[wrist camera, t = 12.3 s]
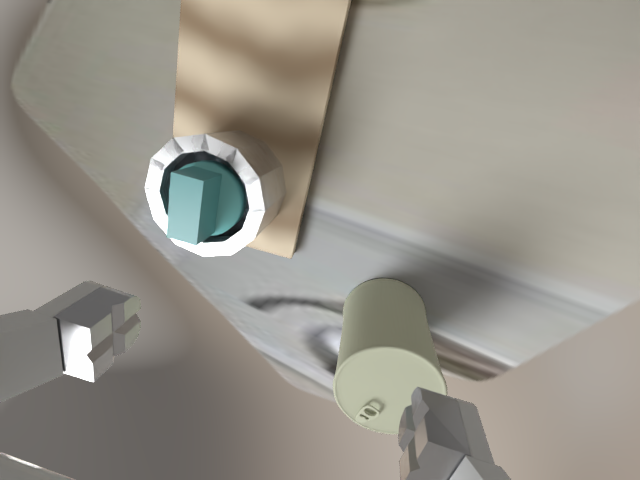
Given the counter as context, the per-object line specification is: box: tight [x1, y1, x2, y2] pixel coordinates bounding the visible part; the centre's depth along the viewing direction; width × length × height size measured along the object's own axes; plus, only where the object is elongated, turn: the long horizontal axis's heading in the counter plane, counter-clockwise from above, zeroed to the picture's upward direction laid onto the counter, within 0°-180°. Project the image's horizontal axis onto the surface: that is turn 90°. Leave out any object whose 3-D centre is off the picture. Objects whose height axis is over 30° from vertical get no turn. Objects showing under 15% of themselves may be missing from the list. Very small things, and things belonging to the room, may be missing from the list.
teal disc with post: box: [166, 160, 247, 246], centre depth 26 cm, size 6×6×4 cm
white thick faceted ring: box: [145, 130, 286, 257], centre depth 29 cm, size 10×10×7 cm
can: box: [333, 278, 447, 434], centre depth 32 cm, size 9×9×12 cm
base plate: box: [173, 0, 351, 259], centre depth 31 cm, size 25×14×2 cm, turn 167°
